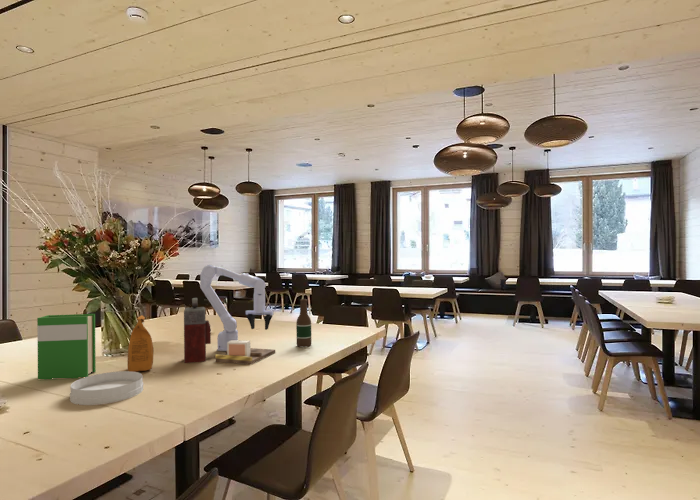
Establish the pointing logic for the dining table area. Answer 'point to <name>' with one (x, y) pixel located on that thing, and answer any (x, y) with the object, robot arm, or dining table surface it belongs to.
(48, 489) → the dining table surface
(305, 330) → the beer bottle
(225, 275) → the robot arm
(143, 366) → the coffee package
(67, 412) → the dining table surface
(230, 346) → the label carton
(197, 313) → the dark red canister
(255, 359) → the shelf board
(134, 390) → the dish
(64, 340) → the hardback book
